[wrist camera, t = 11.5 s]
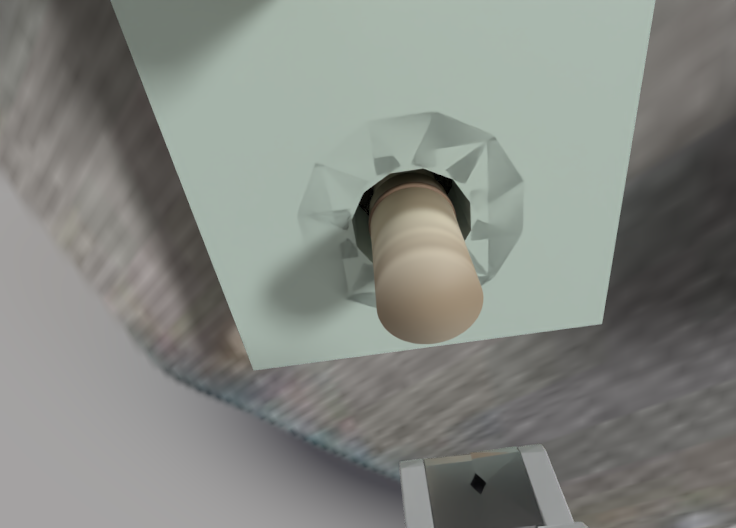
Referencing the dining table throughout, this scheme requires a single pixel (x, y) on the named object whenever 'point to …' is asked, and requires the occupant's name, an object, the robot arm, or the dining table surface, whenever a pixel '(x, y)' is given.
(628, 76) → the board
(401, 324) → the peg
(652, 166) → the dining table surface
